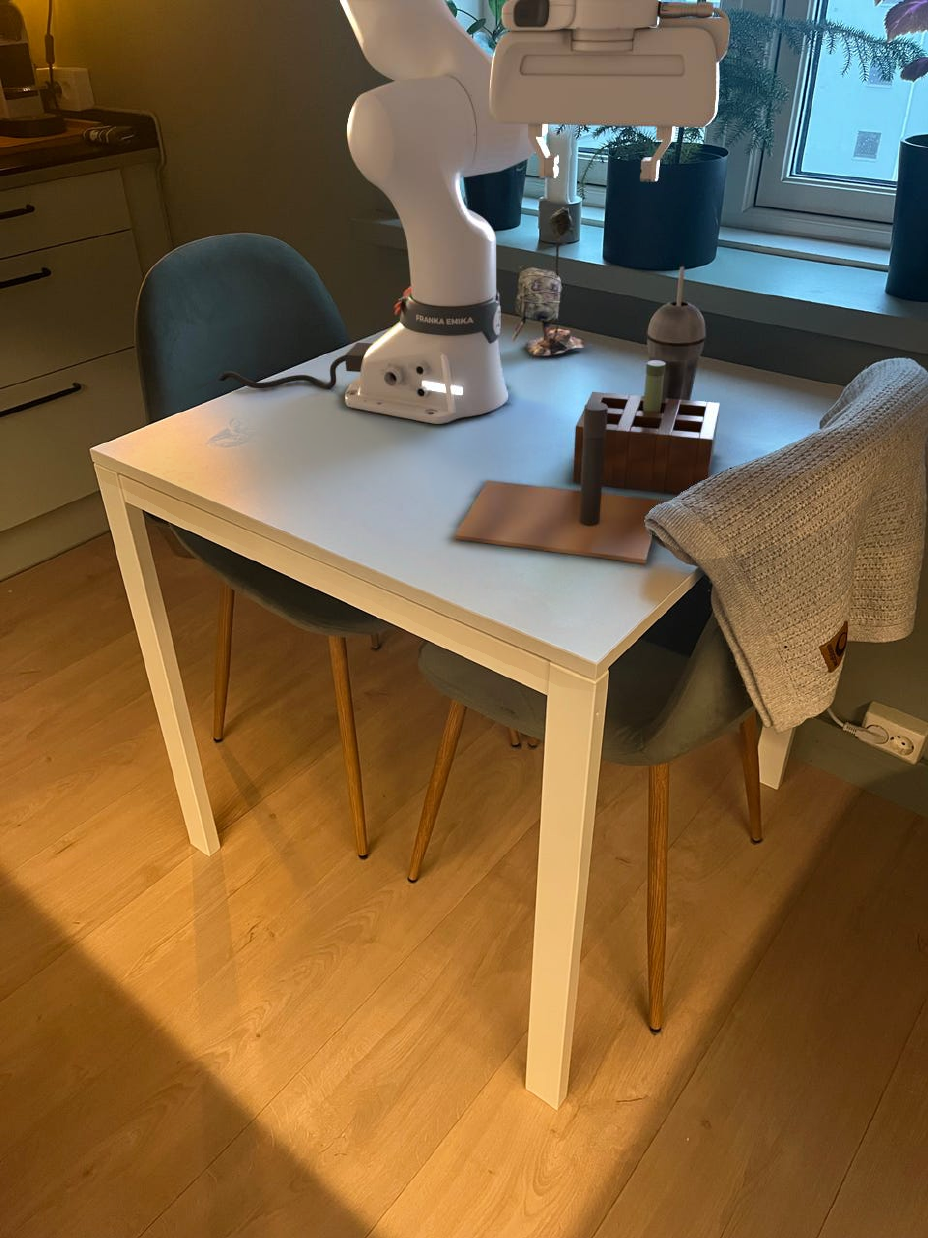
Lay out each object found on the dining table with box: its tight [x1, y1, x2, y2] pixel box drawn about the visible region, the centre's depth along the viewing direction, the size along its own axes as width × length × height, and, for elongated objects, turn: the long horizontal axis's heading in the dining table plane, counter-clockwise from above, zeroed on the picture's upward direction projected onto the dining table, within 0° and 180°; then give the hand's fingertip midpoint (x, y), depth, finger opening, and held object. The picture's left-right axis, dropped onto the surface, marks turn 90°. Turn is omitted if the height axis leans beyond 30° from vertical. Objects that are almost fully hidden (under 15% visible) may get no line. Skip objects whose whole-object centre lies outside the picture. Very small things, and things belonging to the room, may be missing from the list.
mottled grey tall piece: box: [511, 207, 585, 357], centre depth 142 cm, size 8×11×20 cm
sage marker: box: [643, 360, 665, 413], centre depth 111 cm, size 2×2×12 cm
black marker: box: [579, 402, 608, 526], centre depth 99 cm, size 2×2×13 cm
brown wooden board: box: [454, 480, 663, 565], centre depth 103 cm, size 20×13×1 cm, turn 73°
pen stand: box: [572, 391, 721, 495], centre depth 111 cm, size 15×10×7 cm
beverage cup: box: [645, 266, 707, 400], centre depth 118 cm, size 7×7×20 cm
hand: (598, 178), depth 89 cm, fingers open, 8 cm apart
